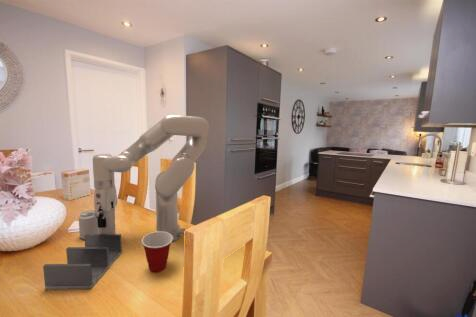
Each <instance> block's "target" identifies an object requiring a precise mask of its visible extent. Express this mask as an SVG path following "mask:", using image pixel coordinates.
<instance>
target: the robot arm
mask: <svg viewBox="0 0 476 317" xmlns="http://www.w3.org/2000/svg"><path fill="white" fill-rule="evenodd" d="M209 128H210V125H209V122H208V121H207V119H205V118H204V117H202V116H193V115H179V114H173V113H171V114H167V115H165V116H164V117H163V118H161V119H160V120H159V121H158V122H157V123H155V124H154V125H153V126H152V127H150V128H149V129H148V130H146V131H145V132H144V133H142V134H141V136H139V138H138V139H136V141H134V142H133V144H131V145H130V146H128V147H127V148H126V149H125V150H123V151H122V152H121V153H119V154H117V155H112V154H110V153H109V154H108V153H101V154H100V153H99V154H95V155H93V156H92V173H93V189H94V196H93V203H94V204H93V207H94V210H95V211H94V215H95V216H96V218H97V221H98V228H105V227H106V218H105V213H106V212H108V211H109V210H111V207H112V206H111V202H112V201H113V204H114V205H113V206H114V216H116V213H115V211H116V207H117V205H118V195H117V194H118V193H117V188H116V182H115V181H116V180H115V173H127V172H129V171H130V170H131V169H132V168H133V166H134V165H136V164H137V163H138V162H140V160H142V159H143V158H144V157H145V156H147V155H148V154H150V153H152V152H155V151H156V150H157V149H159V148H160V147H161V146H162V145H163V144H165V143H166V142H167V141H168V140H170V139H171V138H172V137H173V136H181V137H182V136H183V137H184V136H185V137H188V140H187V141H186V142H185V144H184V145H183V146H182V148H181V149H180V150H179V151H178V152H177V153H176V154H175V155H174V156H173V158H172V159H171V163H170V165H169V166H168V167H167V169H166V170H164V171H160V172H159V174H157V175H156V178H155V181H154V182H155V184H154V188H155V212H156V215H155V217H156V218H155V219H156V232H158V231H162V232H167V233H170V234H171V235H172V236H173V240H172V242H171V243H173V242H176V241H177V240H179V239H180V238H181V237H182V235H185V234H184V231H185V230H186V228H181V227H180V225H179V222H178V221H179V218H178V216H179V215H178V214H179V213H178V207H179V206H178V192H179V191H180V189H182V187H183V186H184V184H186V183H187V181H188V180H189V179H190V177H191V176H192V174H193V172H194V171H195V162H197V160H198V158H199V157H200V156H201V154H202V153H203V152H204V150H205V148H206V146H207V141H208V132H209V130H210V129H209ZM100 209H102V211H100ZM100 213H103V215H101V214H100Z"/></svg>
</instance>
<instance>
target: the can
mask: <svg viewBox="0 0 476 317" xmlns="http://www.w3.org/2000/svg"><path fill="white" fill-rule="evenodd" d="M94 211H95V209H88V210H83V211H82V212H80V213H79V215H78V218H77V219H78V230H79V238H80V239H82V240H84V235H85V234H99V229H98V221H97V218H96V216H95V215H94Z"/></svg>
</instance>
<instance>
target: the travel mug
mask: <svg viewBox="0 0 476 317" xmlns="http://www.w3.org/2000/svg"><path fill="white" fill-rule="evenodd" d="M113 205H114V204H113V201H112V202H111V206H112V207H111V210H109V211H108V212H106V213H105V218H106V227H105V228H98V229H99V234H117V233H116V232H117V231H116V217H115V216H116V215H115V216H114V212H115V211H114V206H113ZM100 211H102V209H100ZM100 214H101V215H103V213H100Z"/></svg>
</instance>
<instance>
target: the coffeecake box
mask: <svg viewBox="0 0 476 317" xmlns="http://www.w3.org/2000/svg"><path fill="white" fill-rule="evenodd" d="M60 174H61V176H60V177H61V185H62V196H63V198H62V199H63V200H64V199H65V201H68V200H69V201H70V202H71V201H73V199H74V200H76V199H77V198H78V199H80V197H81V198H84V197H83V196H85V197H88V196H87V195H89V196H91V195H92V193H91V182H90V180H91V179H90V169H87V168H80V169H74V170H73V169H72V170H67V171H61V172H60ZM90 194H91V195H90Z"/></svg>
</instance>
